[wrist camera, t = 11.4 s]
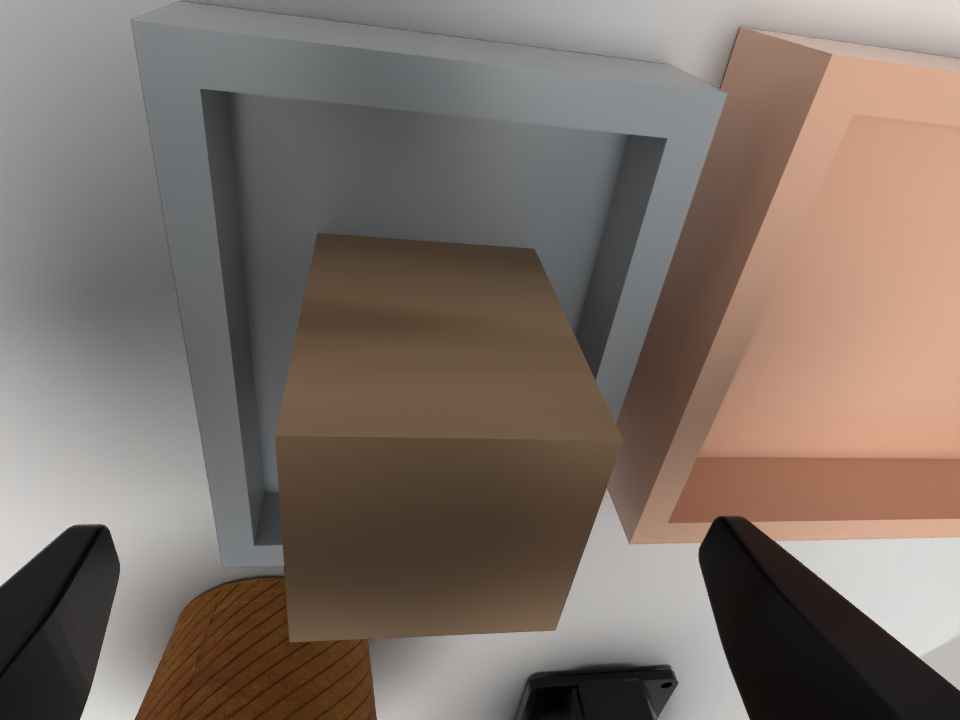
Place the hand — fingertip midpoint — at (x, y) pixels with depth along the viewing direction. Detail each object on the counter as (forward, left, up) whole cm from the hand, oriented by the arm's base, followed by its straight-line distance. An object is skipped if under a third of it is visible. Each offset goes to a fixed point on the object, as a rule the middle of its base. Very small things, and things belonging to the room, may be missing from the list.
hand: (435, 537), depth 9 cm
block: (0, 0, -6) cm, 6 cm away
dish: (+1, -13, -7) cm, 15 cm away
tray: (0, 0, -7) cm, 7 cm away
